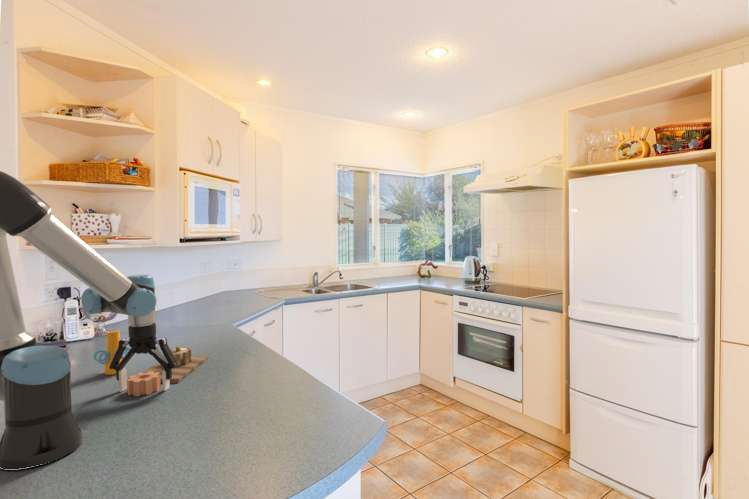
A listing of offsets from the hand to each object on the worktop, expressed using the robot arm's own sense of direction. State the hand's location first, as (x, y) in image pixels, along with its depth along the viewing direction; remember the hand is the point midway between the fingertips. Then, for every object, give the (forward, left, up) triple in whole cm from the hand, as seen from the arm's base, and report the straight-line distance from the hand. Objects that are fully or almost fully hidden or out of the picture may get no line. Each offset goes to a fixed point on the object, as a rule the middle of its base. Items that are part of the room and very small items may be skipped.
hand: (144, 389), depth 126 cm
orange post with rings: (+17, +20, 0) cm, 26 cm away
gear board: (+18, 0, 0) cm, 18 cm away
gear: (0, 0, 0) cm, 0 cm away
